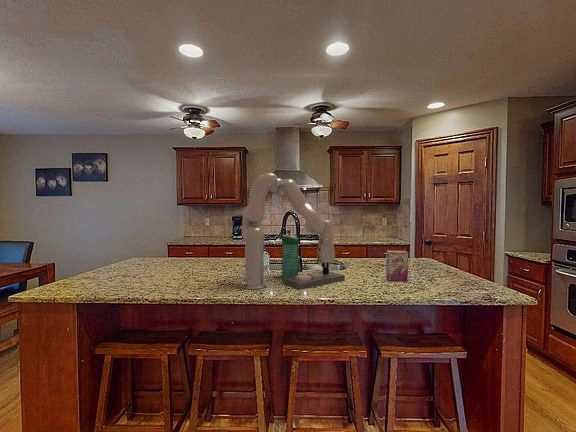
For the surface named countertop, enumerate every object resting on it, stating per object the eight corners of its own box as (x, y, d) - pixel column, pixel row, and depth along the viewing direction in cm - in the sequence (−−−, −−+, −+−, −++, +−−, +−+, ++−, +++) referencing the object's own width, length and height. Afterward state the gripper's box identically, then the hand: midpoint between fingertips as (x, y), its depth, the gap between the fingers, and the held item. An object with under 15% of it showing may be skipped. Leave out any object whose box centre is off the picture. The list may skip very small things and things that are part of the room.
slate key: (314, 280, 170) (314, 275, 170) (307, 278, 175) (307, 273, 175) (322, 278, 174) (322, 274, 174) (315, 276, 179) (315, 272, 179)
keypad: (299, 289, 160) (299, 283, 160) (283, 284, 171) (283, 278, 171) (344, 280, 179) (344, 275, 178) (327, 275, 190) (327, 270, 190)
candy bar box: (387, 281, 177) (387, 251, 177) (385, 279, 182) (386, 250, 182) (408, 281, 176) (408, 252, 176) (405, 279, 181) (406, 250, 180)
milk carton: (298, 279, 181) (298, 235, 180) (282, 279, 182) (282, 235, 181) (297, 275, 190) (297, 234, 189) (282, 275, 191) (282, 233, 190)
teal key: (325, 280, 175) (325, 275, 175) (317, 278, 180) (317, 274, 180) (333, 278, 179) (333, 274, 179) (325, 276, 184) (325, 272, 184)
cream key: (302, 282, 166) (302, 277, 166) (295, 280, 171) (295, 275, 170) (311, 281, 169) (311, 276, 169) (304, 278, 174) (304, 274, 174)
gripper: (320, 243, 171) (320, 277, 172) (340, 241, 180) (340, 273, 181) (311, 242, 177) (311, 274, 178) (330, 240, 186) (330, 271, 187)
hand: (325, 274), depth 179 cm, fingers closed
